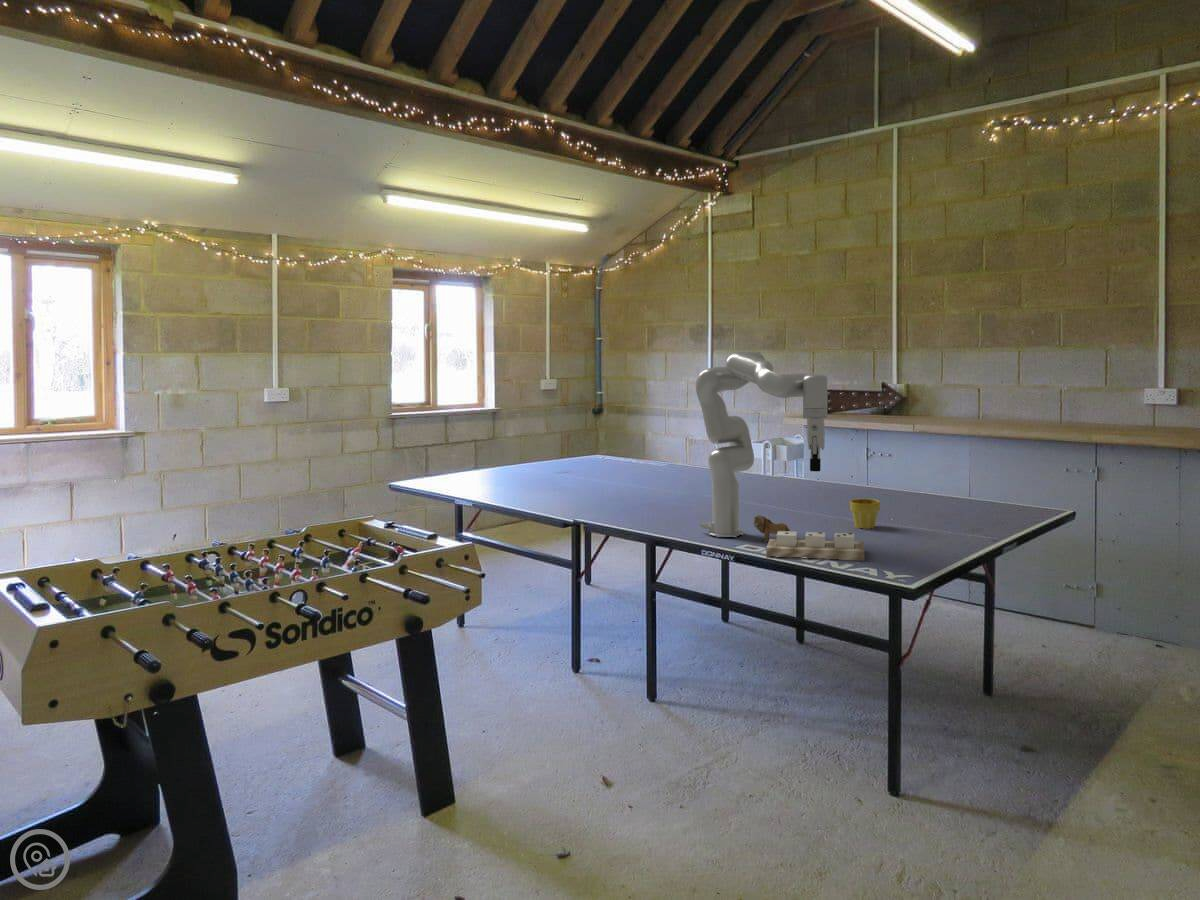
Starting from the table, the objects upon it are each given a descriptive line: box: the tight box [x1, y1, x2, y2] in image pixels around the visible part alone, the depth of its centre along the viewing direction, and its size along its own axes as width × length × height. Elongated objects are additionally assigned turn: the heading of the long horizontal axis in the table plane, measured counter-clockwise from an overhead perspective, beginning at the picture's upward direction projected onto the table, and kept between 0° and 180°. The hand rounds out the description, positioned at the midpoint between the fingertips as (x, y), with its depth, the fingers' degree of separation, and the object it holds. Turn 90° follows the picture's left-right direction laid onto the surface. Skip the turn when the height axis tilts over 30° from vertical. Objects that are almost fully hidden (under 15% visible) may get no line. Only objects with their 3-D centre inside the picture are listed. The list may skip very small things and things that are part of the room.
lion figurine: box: [753, 515, 791, 542], centre depth 297 cm, size 15×5×9 cm, turn 65°
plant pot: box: [849, 498, 881, 530], centre depth 315 cm, size 10×10×10 cm
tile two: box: [804, 531, 826, 548], centre depth 278 cm, size 6×6×4 cm
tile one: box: [776, 530, 798, 547], centre depth 281 cm, size 6×6×4 cm
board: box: [765, 538, 865, 562], centre depth 279 cm, size 30×13×3 cm, turn 74°
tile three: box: [833, 532, 855, 549], centre depth 276 cm, size 6×6×4 cm
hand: (815, 470), depth 276 cm, fingers closed
